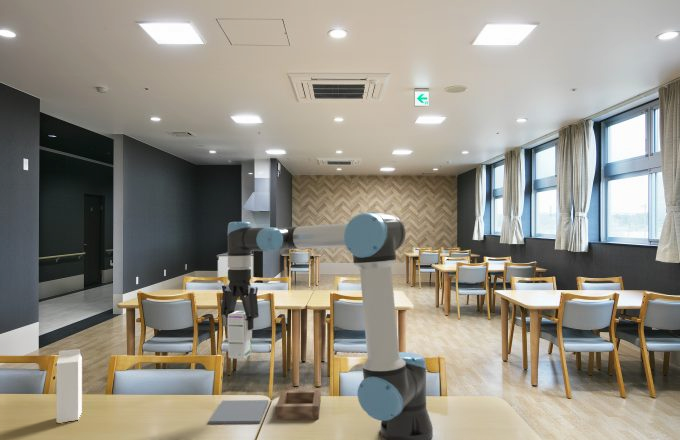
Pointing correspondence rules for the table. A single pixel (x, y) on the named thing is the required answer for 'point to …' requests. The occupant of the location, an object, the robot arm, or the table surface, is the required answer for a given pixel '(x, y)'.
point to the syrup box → (237, 336)
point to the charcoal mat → (239, 412)
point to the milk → (69, 385)
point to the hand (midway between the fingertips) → (239, 337)
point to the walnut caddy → (298, 404)
